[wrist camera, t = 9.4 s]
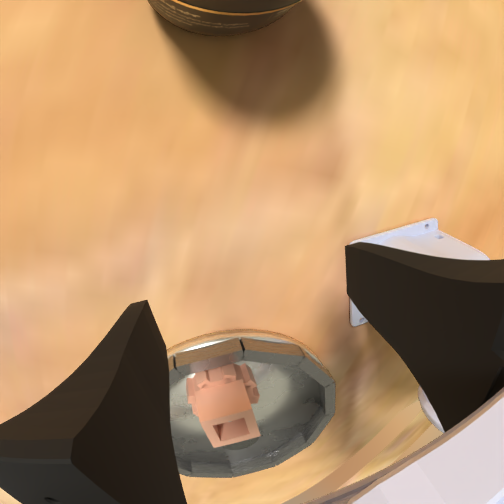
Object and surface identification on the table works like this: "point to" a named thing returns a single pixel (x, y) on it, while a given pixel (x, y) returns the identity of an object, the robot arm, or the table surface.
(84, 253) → the table surface
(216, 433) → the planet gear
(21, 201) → the table surface
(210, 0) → the jar
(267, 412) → the plate
